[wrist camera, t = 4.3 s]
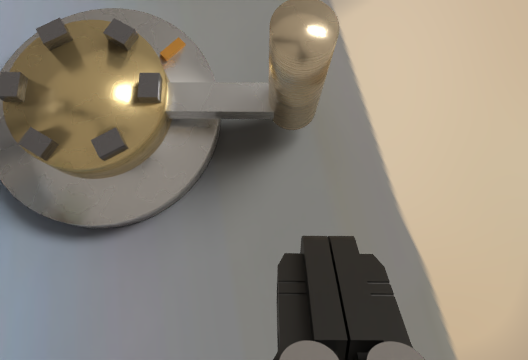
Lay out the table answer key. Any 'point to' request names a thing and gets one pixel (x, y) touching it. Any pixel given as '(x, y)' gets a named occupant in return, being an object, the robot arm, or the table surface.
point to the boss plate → (139, 178)
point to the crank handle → (149, 90)
